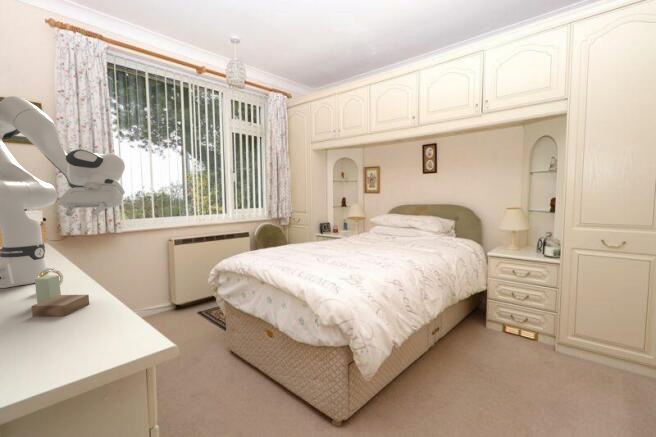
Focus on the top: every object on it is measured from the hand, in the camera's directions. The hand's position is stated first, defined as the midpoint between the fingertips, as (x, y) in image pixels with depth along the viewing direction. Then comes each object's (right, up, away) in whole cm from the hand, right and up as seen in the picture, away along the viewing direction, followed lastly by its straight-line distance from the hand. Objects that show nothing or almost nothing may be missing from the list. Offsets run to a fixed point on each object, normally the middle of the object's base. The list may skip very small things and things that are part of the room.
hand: (81, 214), depth 111 cm
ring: (-11, -27, 0) cm, 29 cm away
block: (-1, -28, -12) cm, 30 cm away
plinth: (+9, -28, -19) cm, 35 cm away
